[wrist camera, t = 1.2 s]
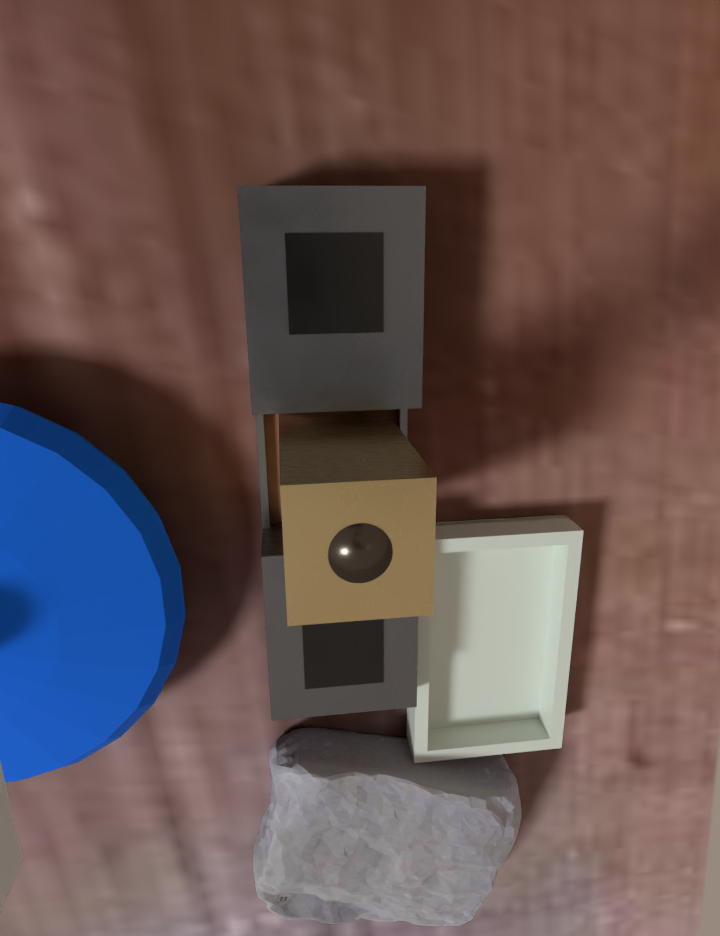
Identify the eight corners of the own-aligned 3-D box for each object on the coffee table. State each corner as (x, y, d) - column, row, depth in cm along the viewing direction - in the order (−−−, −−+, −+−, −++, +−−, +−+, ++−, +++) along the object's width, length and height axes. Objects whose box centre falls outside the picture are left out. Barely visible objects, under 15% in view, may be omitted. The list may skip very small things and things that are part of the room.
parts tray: (408, 523, 27) (417, 540, 26) (565, 514, 28) (583, 530, 26) (406, 735, 31) (414, 763, 29) (545, 722, 31) (561, 748, 30)
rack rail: (242, 195, 23) (237, 185, 20) (407, 195, 23) (426, 185, 20) (272, 675, 29) (271, 721, 26) (403, 664, 29) (417, 708, 27)
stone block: (455, 852, 36) (517, 734, 31) (471, 950, 32) (546, 829, 27) (245, 830, 34) (278, 701, 30) (233, 930, 30) (270, 797, 25)
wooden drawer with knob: (278, 411, 25) (280, 485, 17) (383, 408, 26) (436, 477, 17) (283, 510, 26) (287, 626, 18) (383, 505, 27) (433, 615, 18)
